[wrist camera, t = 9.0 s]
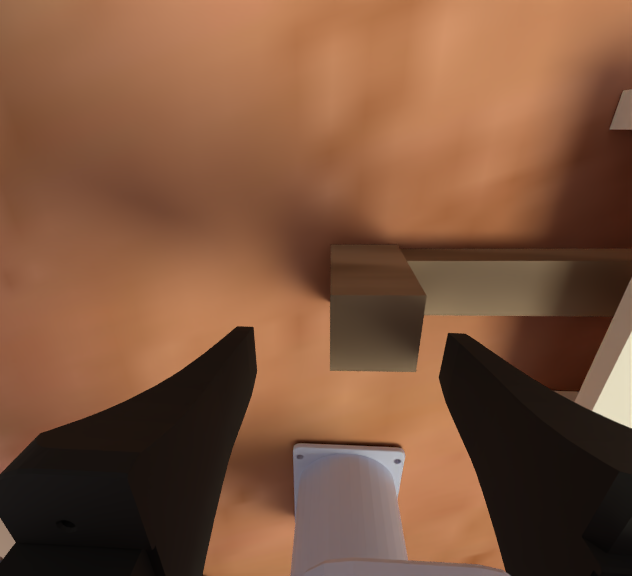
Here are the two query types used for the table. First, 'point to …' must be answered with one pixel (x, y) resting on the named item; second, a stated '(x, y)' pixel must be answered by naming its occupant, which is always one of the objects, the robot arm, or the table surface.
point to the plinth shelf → (612, 338)
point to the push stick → (456, 293)
